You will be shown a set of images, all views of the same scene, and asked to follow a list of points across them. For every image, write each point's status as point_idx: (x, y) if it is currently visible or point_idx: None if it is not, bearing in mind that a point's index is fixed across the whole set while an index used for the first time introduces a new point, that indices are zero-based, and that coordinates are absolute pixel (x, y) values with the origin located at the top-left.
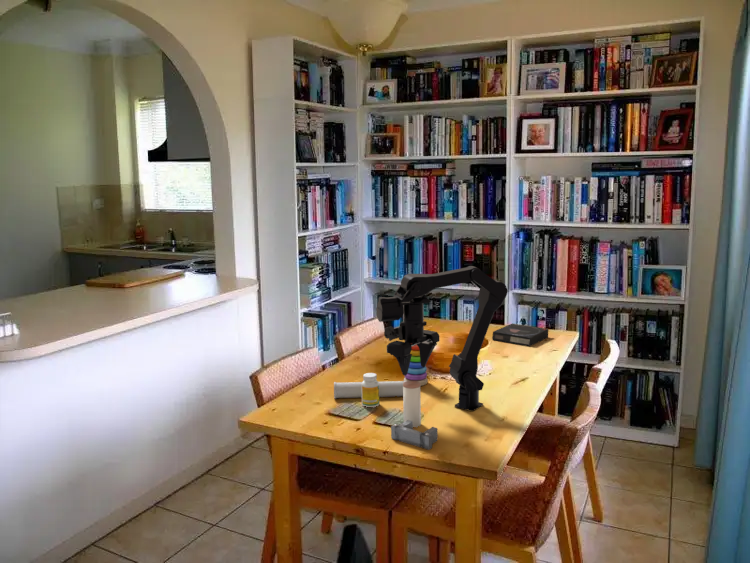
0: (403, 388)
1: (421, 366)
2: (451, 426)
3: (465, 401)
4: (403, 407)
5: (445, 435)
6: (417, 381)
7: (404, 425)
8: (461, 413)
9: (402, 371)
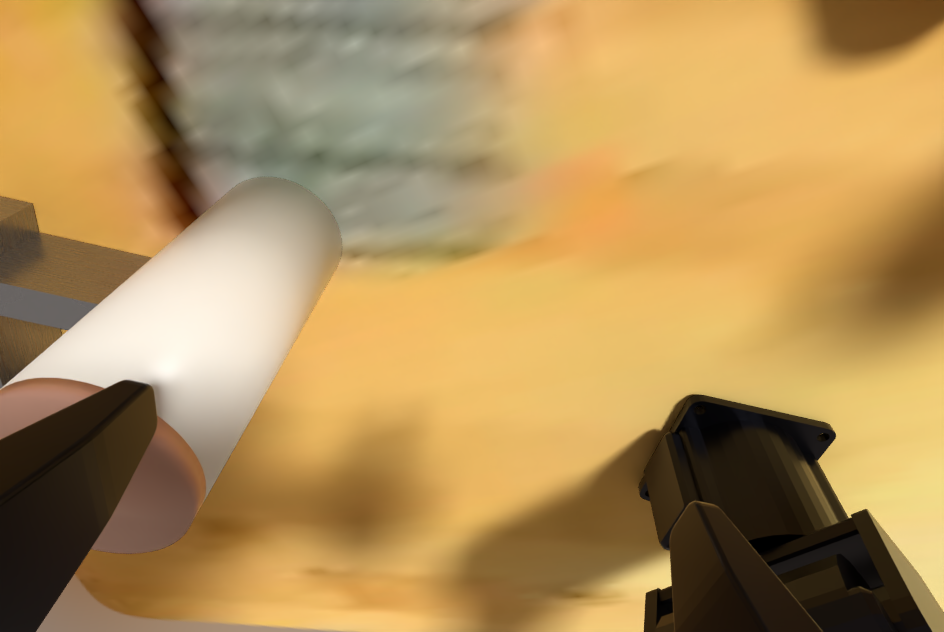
0: (13, 378)
1: (692, 504)
2: (379, 439)
3: (653, 506)
4: (163, 248)
5: (253, 440)
6: (193, 515)
7: (3, 314)
8: (593, 444)
9: (60, 427)
